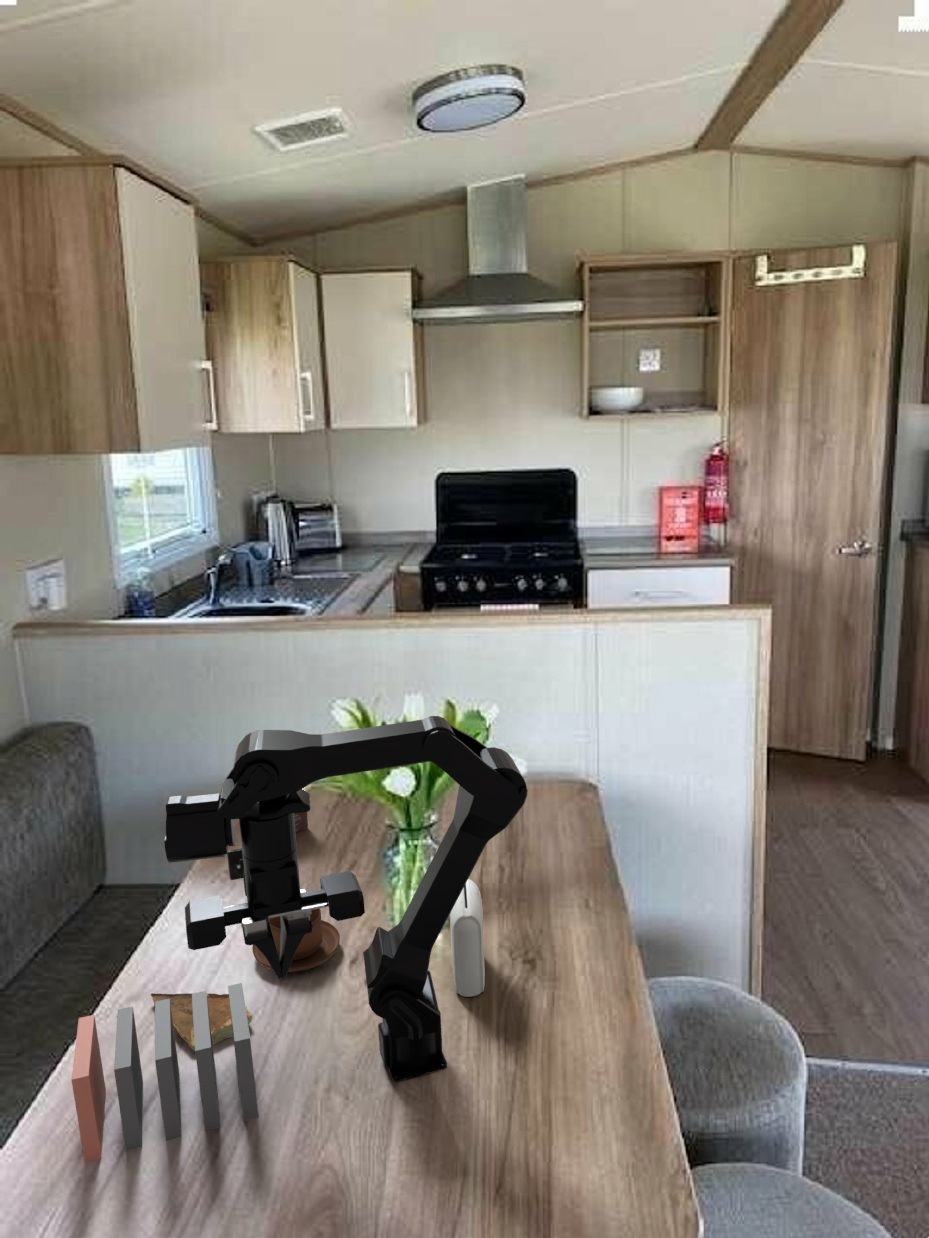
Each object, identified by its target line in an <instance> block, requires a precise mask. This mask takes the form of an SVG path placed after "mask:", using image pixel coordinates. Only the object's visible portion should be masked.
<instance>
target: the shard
mask: <svg viewBox="0 0 929 1238" xmlns="http://www.w3.org/2000/svg"><path fill="white" fill-rule="evenodd" d="M193 993H194V992H192V993H154V992H153V993H152V992H151V993H150V996H151V999H152V1000H153V1001H152V1002H153V1005H154V1006H155V1002H156V1001H160V1000H165V999H170V1004H171V1012H172V1020H173V1028H174V1029H176V1030H177V1033H178V1034H179V1036H180V1037H181V1038H182V1039H183V1041H185V1042H186V1043H187V1044H188V1046H189V1048H190V1049H191V1050H192V1051H193V1052H194V1053H195V1039H194V1023H193V1007H192V994H193ZM207 1002H208V1010H209V1019H210V1027H211V1036H212V1044H213V1046H214V1045H215V1044H217V1043H219V1042H222V1041H223V1040H225V1039H228V1038H231V1037H233V1029H232V1020H231V1011H230V1002H229V993H221V994H217V993H207ZM246 1014H247V1020H248V1027H249V1026H250V1025H251V1024H250V1023H251V1022H252V1020H253V1014H252V1012H251V1011H250V1010H249V1009H248V1008H247V1007H246Z"/></svg>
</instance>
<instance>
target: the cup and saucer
mask: <svg viewBox="0 0 929 1238" xmlns="http://www.w3.org/2000/svg"><path fill="white" fill-rule="evenodd" d="M311 913H312V914H310V917H311V921H312V924H313V931H312V932H311V933H308V934H305V935H304V937H303V939H302V940H301V942H300V944H299V946H298V948H297V950H296V952H295V954H294V957H293V959H292V962H291V965H290V968H289V970H288V973H294V972H295V973H296V972H302V971H306V970H309V969H313V968H315V967H317V966H319V965H321V964H322V963H324V962H326V961H327V960H328V959H329V958H331V957H332V956H333V955H334V954H335V952H336V951H337V949H338V947H339V945H340V940H341V939H340V938H341V935H340V931H339V930H338V929H337V928H336V927H335V926H334V925H333V924H331V923H330V922H328V921H325V920H323V919H322V911H321V908H319V909H314V910H311ZM269 921H270V925H271V929H272V933H273V937H274V941H275V945H276V949H277V953H278V957H279V961H280V936H281V919H280V916H278V917H273V918H269ZM251 948H252V954H253V957H254V958H255V960H256V961H257V963H258V964H260V965H261V966H263V967H265V968H266V969H269V970H273V969H272V967H271V965H270V964H269V962H268V960H267V958H266V957H265V956H264V955H263V953H262V952H261V951H260V950H259V949H258V948H257V946H256V945H252V947H251Z"/></svg>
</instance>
